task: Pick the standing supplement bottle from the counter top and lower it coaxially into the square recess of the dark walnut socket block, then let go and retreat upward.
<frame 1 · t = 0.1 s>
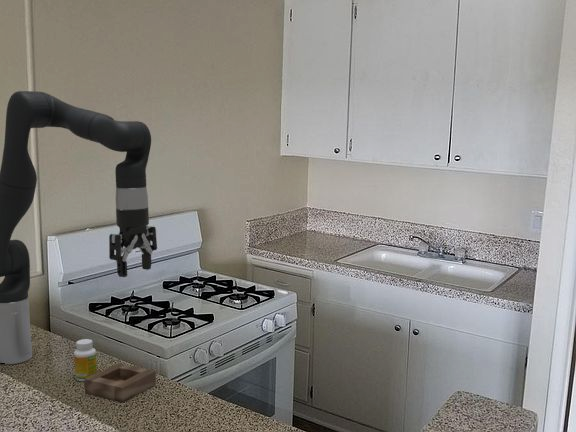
hand: (134, 272, 160), 29 cm above the counter, tool pointing down, fingers open, 8 cm apart
socket block: (121, 388, 164), on the counter
supplement bottle: (86, 378, 171), on the counter
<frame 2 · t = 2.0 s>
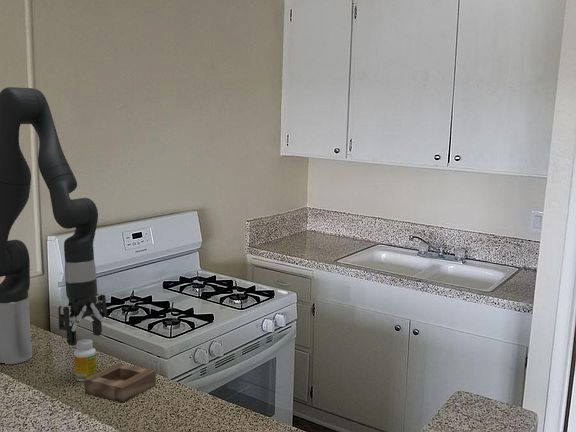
hand: (85, 339, 170), 10 cm above the counter, tool pointing down, fingers open, 8 cm apart
nothing on the counter moved.
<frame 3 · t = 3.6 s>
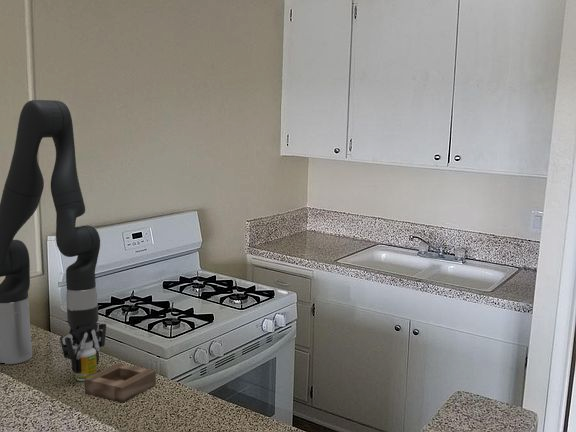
hand: (85, 368, 171), 2 cm above the counter, tool pointing down, fingers closed on supplement bottle, 5 cm apart
supplement bottle: (86, 378, 171), on the counter, touching gripper
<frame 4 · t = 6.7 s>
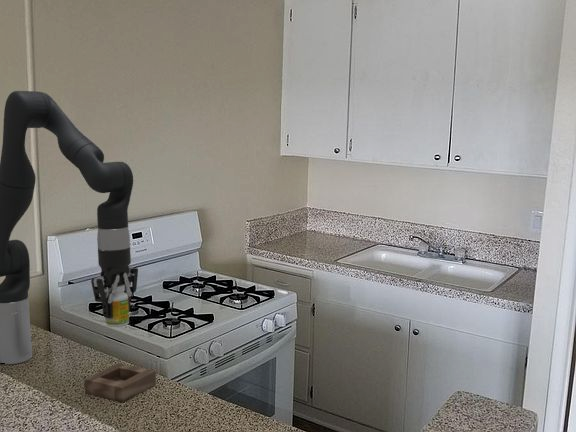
hand: (117, 314, 161), 19 cm above the counter, tool pointing down, fingers closed on supplement bottle, 5 cm apart
supplement bottle: (117, 324, 162), point 16 cm above the counter, touching gripper
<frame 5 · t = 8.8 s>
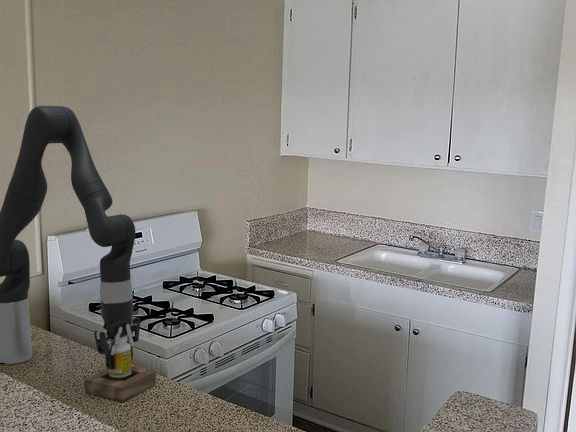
hand: (119, 364, 163), 6 cm above the counter, tool pointing down, fingers closed on supplement bottle, 5 cm apart
supplement bottle: (120, 375, 164), point 4 cm above the counter, touching gripper
when the fingers open (5 cm above the counter, at t = 10.1 s): supplement bottle drops 2 cm, resting on socket block.
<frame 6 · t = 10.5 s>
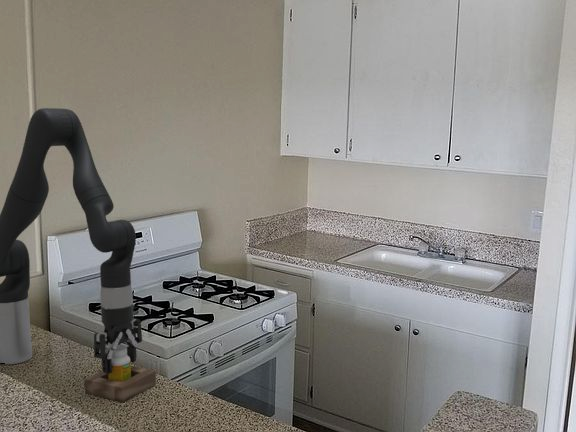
hand: (120, 367, 163), 6 cm above the counter, tool pointing down, fingers open, 8 cm apart
supplement bottle: (120, 387, 164), resting on socket block
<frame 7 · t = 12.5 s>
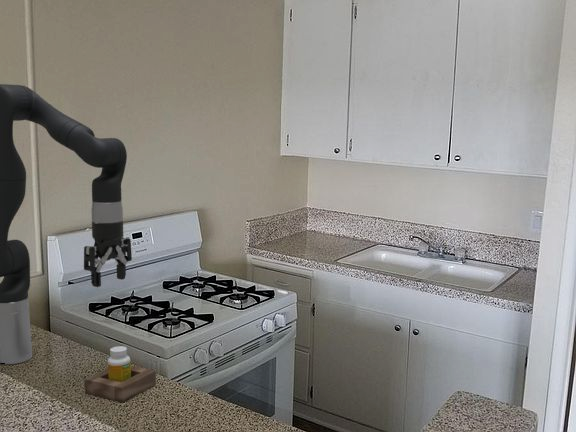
hand: (109, 282, 168), 25 cm above the counter, tool pointing down, fingers open, 8 cm apart
nothing on the counter moved.
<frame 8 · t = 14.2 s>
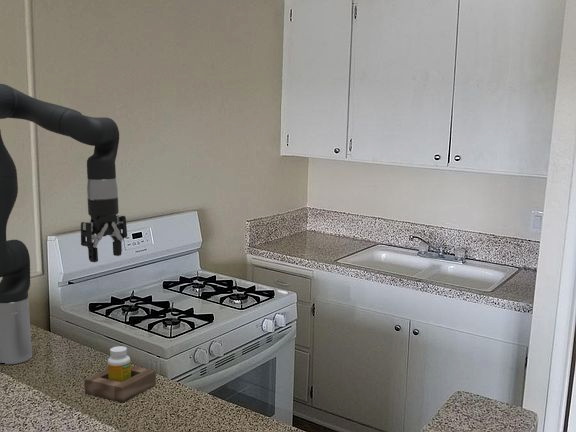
hand: (105, 258, 172), 30 cm above the counter, tool pointing down, fingers open, 8 cm apart
nothing on the counter moved.
at the end: supplement bottle 0.2 cm off-centre on the socket block, point 0.4 cm above the socket block's base; supplement bottle tilted 0°; the gripper is holding nothing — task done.
